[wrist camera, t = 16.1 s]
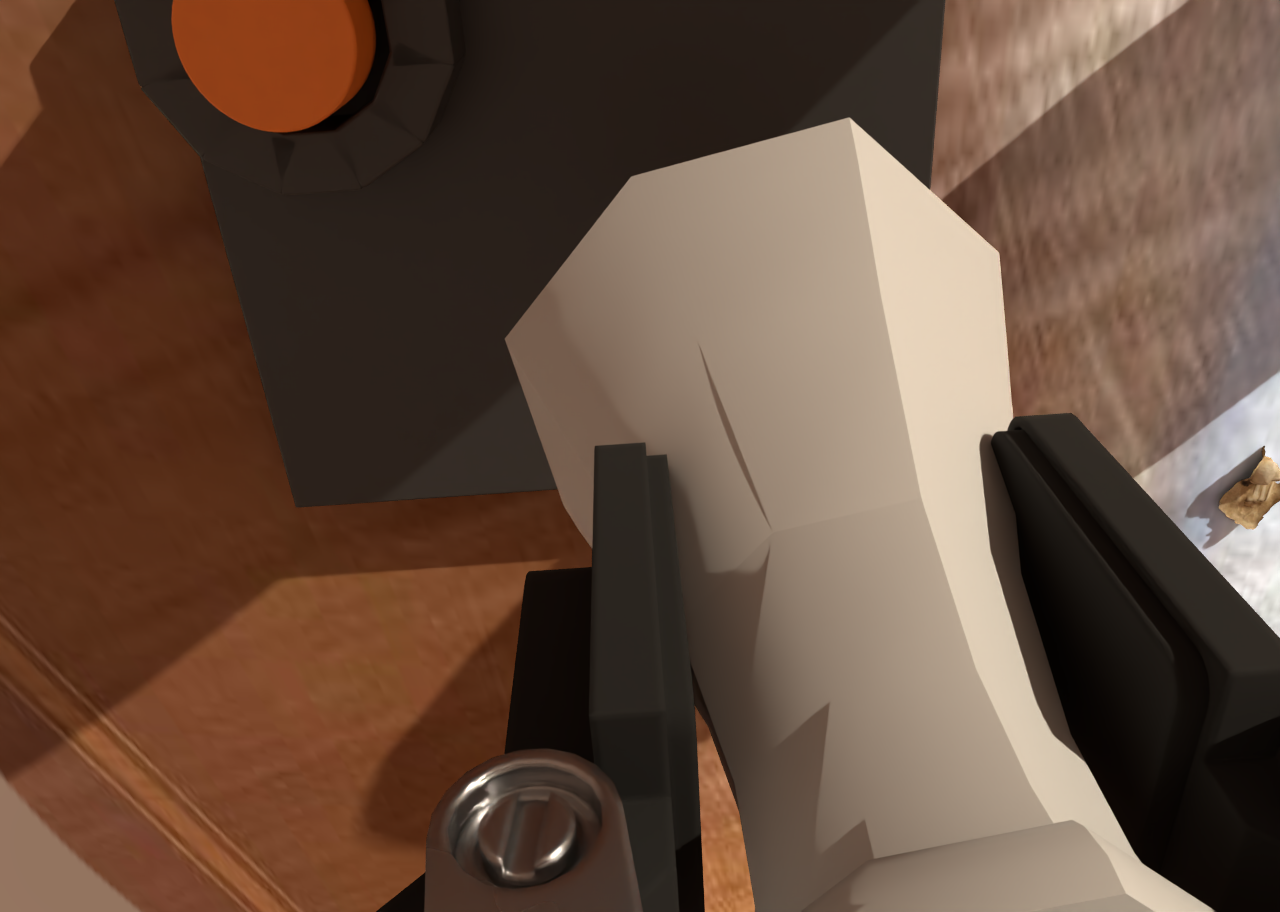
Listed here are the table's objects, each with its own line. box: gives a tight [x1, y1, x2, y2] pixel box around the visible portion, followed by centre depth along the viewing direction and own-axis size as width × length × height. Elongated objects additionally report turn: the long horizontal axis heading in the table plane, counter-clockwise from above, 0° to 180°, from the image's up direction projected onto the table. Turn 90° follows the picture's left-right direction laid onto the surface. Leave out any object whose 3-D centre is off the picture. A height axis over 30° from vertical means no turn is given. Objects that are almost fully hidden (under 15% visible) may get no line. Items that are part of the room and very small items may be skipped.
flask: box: [505, 118, 1216, 912], centre depth 10 cm, size 7×7×10 cm
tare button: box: [171, 0, 376, 132], centre depth 18 cm, size 3×3×2 cm
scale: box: [114, 0, 945, 507], centre depth 22 cm, size 16×15×3 cm
